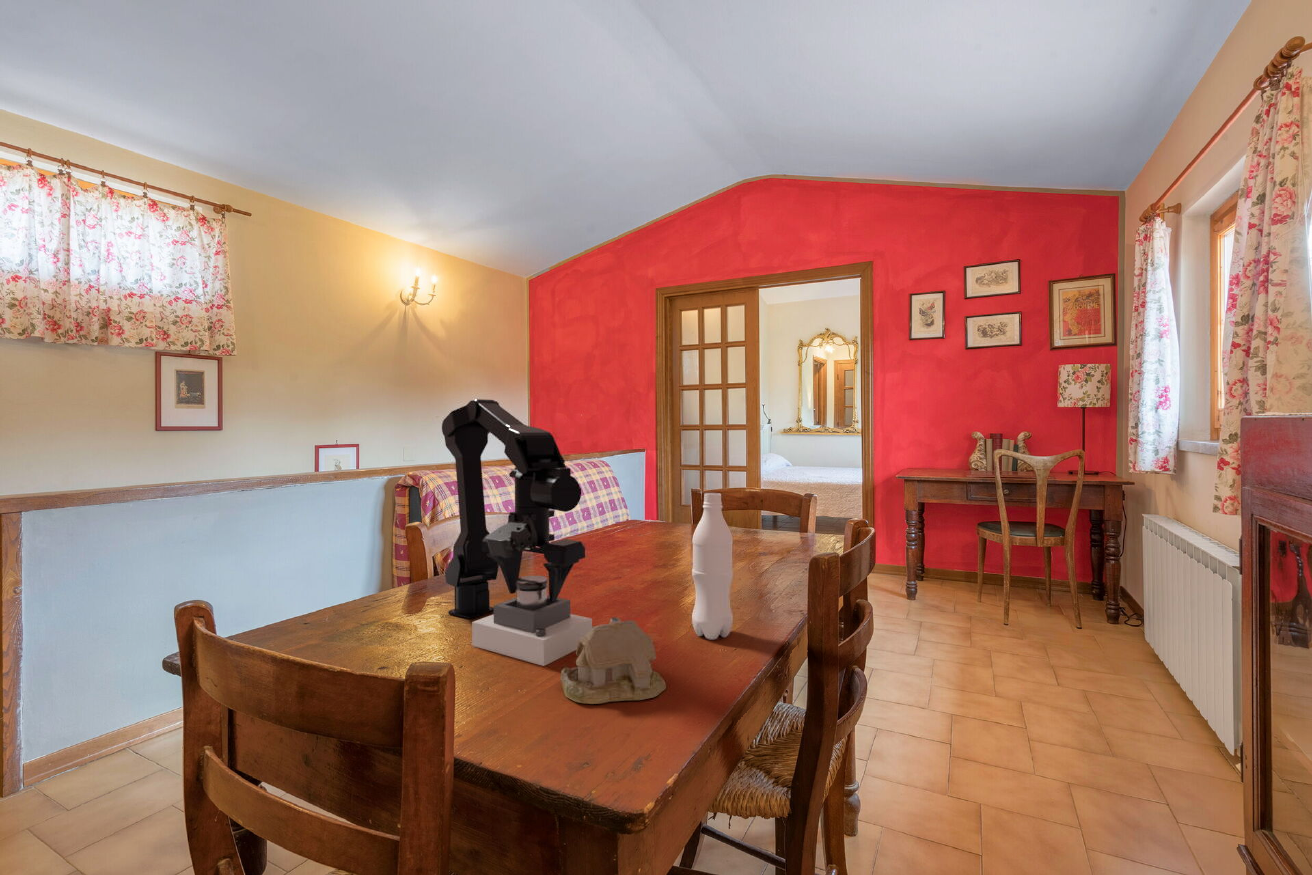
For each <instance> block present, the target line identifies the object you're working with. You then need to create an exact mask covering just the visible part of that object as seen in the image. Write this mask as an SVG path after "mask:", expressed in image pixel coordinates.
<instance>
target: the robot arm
mask: <svg viewBox="0 0 1312 875" xmlns="http://www.w3.org/2000/svg"><path fill="white" fill-rule="evenodd" d="M441 432H442V435H443V437H444V443H445V447H446V448H447V449H448V452H449V453H450V454H451V456H452V457H453V458H454V460H455V471H456V485H457V497H458V498H457V499H458V512H459V525H460V526H459V527H460V531H459V532H460V533H459V535H458V537H457V538H456V540H455V543H454V545H453V547H452V551H453V552H452V554H453V555H452V557H451V560H450V562H449V563H448V566H447V568H446V569H445V571H444V576H445V584H447V585H450V586H452V587H454V608H453V609H450V610H448V614H449V615H453V616H457V617H461V618H464V619H473V618H477V617H480V616H482V615H483V616H484V615H485V614H488V613H491V612H494V606H490V604H491V603H490V600H491V599H490V588H489V581H496V580H497V577H498V573H499V568H500V570H501V573H502V575H503V578H504V581H505V583H506V586H507V589H508V592H509V594H511V595H513V594H516V593H517V589H516V580H517V579H518V578H520V571H521V565H522V556H523V552H527V553H528V552H529V553H534V554H535V553H536V554H541V555H543V557H544V560H546V562H545V563H544V562H543V566H544V568H545V569H546V571H547V572H548V596H549V597H550V602H554V601H556V600H557V598H559V596H560V593H561V591H562V588H563V586H564V584H565V582H566V580H567V577H568V576H569V574H570V572H571V570H572V569H573V567H574V565H575V564H578V563H579V562H580V560H583V559H585V558H586V547H585V544H584V543H583V542H582V541H581V540H574V539H569V538H568V539H561V540H557V541H555V533H550V518H551V517H552V518H553V517H555V511H558V512H563V513H564V512H570V511H573V510H574V509H575V508H576V507H577V506H578V505H579V502H580V501H581V497H582V488H581V486H580V484H579V481H578V480H577V479H576V478H575V477H573V476H572V475H571V468H569V467H567V465H566V464H565V462H566V461H565V459H564V457H563V456H562V454H561V452H560V449H559V447H558V445H557V443H556V441H555V437H554V435H553V434H552V433H551V432H549V431H547V430H545V429H542V428H539V427H536V426H529V425H526V424H524V423H523V422H521V421H520V420H519V419H518V418H516V417H515V415H512V414H511V413H510V412H508V411H507V410H506V409H504V408H503V407H502V406H500V403H499V402H498V401H496V400H494V399H482V398H481V399H480V398H479V399H478V398H475V399H473V400H470V401H469V402H468V403H467V404H466V405H463V406H462V407H459V408H457V409H454V410H452V411H451V412H449V414H448V415H447V416H445V418H444V419H443V420H442V423H441ZM489 434H492V435H493V437H495V438H496V439H497V440H499V441H500V442H501V443H502V444H503V445H504V454H505V456H506V457H507V458H508V459H509V461H510V462H511V463H512V464H513V466H514V468H513V469H512V470H511V471H510V472H509V474H508V475H509V478H512V479H513V478H514V511H510V512H509V515H507V519H508V521H507V523H506V524H504V525H501V526H499V527H498V528H497V529H495V530H493V531H492V532H491V533H490V532H489V531H488V529H487V520H486V519H487V518H486V508H485V506H486V505H485V495H484V494H485V492H484V480H483V470H482V469H483V468H482V455H483V453H484V450H485V449H486V448H487V445H488V442H489ZM552 541H554V542H552Z"/></svg>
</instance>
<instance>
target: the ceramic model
mask: <svg viewBox="0 0 1312 875" xmlns="http://www.w3.org/2000/svg"><path fill="white" fill-rule="evenodd" d="M575 655H576V656H577V659H576V660H575V665H576V666H577V667H573V668H569V667H567V666H566V667H564V668H563V669H562V670H561V672H560V682H561V687H562V689H563V690H562V691H563V693H564V695H565V696H566V698H568V699H570V700H571V701H573V702H575V703H580V704H589V705H594V704H595V705H596V704H598V705H600V704H606V703H609V702H621V701H622V702H623V701H642V700H647V699H651V698H655V697H657V696H659V695H660V694H661V693H662V692H664V691H665V690H666V688H667V687H666V686H667V685H666V682H665V680H664V678H663V677H661V675H660V673H659V672H657V671H654V670H653V669H652V664H651V663H652V662H653V661H655V660H656V659H657V653H656V649H655V645H654V641H653V639H652V638H651V636H649V635H648V634H647V633H646V632H644V631H643V629H642V628H640V626H639V625H638V624H637V622H636V621H635V620H632V619H629V620H624V621H622V620H621V619H620V618H619V617H618V616H614V617H610V620H609V623H608V624H606V623H605V624H599V625H596V626H592V628H591V630H590V631H589V632H588V633H586V634H585V635H584V636H582V637H581V638H580V640H579V642H578V646H577V650H575Z"/></svg>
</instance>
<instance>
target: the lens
mask: <svg viewBox="0 0 1312 875" xmlns="http://www.w3.org/2000/svg"><path fill="white" fill-rule="evenodd" d="M548 588H549V578H548V577H546V576H544V575H527V576H521V577H519V578H518V579H517V580H516V598H517V608H521V609H526V610H530V611H535V610H538V609H540V608H543V607H546V606H547V596H548Z"/></svg>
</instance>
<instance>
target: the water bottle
mask: <svg viewBox="0 0 1312 875" xmlns="http://www.w3.org/2000/svg"><path fill="white" fill-rule="evenodd" d="M703 495H704V497H703V505H702V508H703V512H702V515H701V518H700V520H699V522H698V523H697V526H696V528H695V530H694V532H693V536H692V542H691V543H692V569H691V571H692V572H691V574H692V575H691V576H692V579H693V582H694V587H695V588H694V590H695V600H694V601H695V602H694V606H693V610H692V613H691V614H692V615H691V618H692V619H691V621H692V622H691V623H692V626H693V629H694V632H695V634H696V636H698V637H702V636H704V637H705V638H706V639H707V640H712V641H714V640H717V639H718V638H719V636H721V637H722V638H727V637H728V636H729V635H730V632H731V630H732V628H733V620H734V617H733V612H732V609H731V605H730V604H731V603H730V602H731V601H730V594H731V593H730V592H731V584H732V581H733V578H734V569H733V544H734V540H733V539H734V538H733V535H732V533H731V529H730V527H729V526H728V524H727V522H726V520H725V518H724V516H723V511H722V510H723V508H724V506H723V502H722V494H721V493H718V492H705V493H704V494H703Z"/></svg>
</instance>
